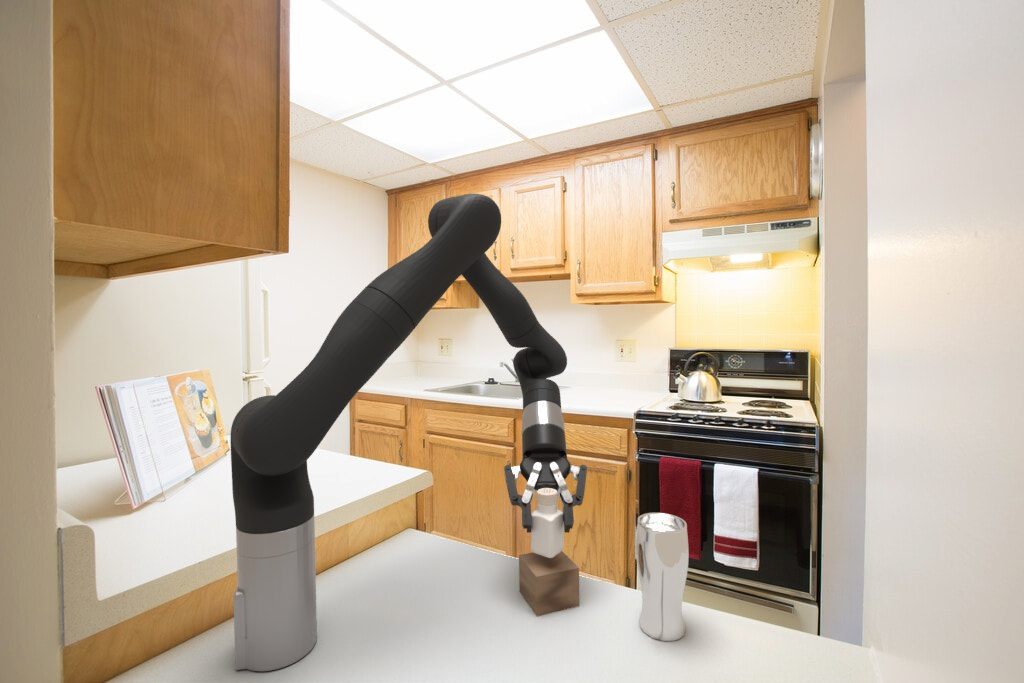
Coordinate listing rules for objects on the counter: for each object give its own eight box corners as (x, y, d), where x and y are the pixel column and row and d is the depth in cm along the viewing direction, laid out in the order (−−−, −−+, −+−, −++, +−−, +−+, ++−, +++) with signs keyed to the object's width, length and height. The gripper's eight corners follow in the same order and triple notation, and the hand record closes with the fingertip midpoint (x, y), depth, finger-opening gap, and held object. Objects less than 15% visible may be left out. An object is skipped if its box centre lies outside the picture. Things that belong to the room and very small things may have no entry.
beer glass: (681, 613, 69) (681, 512, 69) (694, 645, 62) (694, 533, 62) (632, 611, 70) (632, 511, 70) (640, 642, 63) (640, 531, 63)
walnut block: (536, 617, 69) (536, 576, 69) (519, 592, 76) (518, 555, 75) (579, 606, 72) (579, 567, 71) (558, 583, 78) (558, 547, 78)
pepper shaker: (551, 560, 71) (551, 497, 70) (529, 553, 73) (529, 492, 73) (565, 550, 74) (564, 490, 74) (543, 543, 76) (543, 485, 76)
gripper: (501, 421, 80) (500, 521, 69) (586, 421, 80) (599, 520, 69) (502, 444, 86) (501, 540, 74) (582, 444, 86) (593, 539, 74)
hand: (548, 530), depth 72 cm, fingers closed on pepper shaker, 5 cm apart
